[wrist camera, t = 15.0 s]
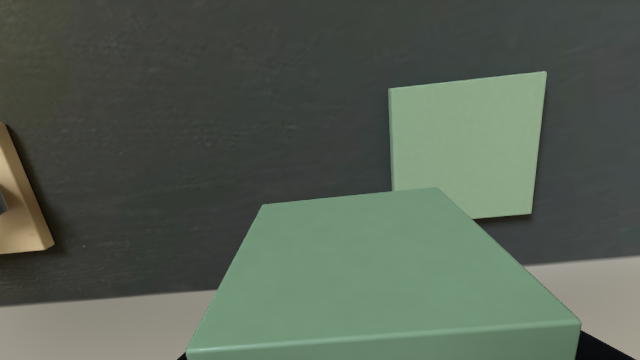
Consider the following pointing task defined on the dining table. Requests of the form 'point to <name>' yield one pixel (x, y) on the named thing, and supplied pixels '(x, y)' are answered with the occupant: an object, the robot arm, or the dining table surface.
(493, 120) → the sage pad
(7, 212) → the birch pad
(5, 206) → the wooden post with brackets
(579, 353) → the robot arm
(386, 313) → the sage block
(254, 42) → the dining table surface
